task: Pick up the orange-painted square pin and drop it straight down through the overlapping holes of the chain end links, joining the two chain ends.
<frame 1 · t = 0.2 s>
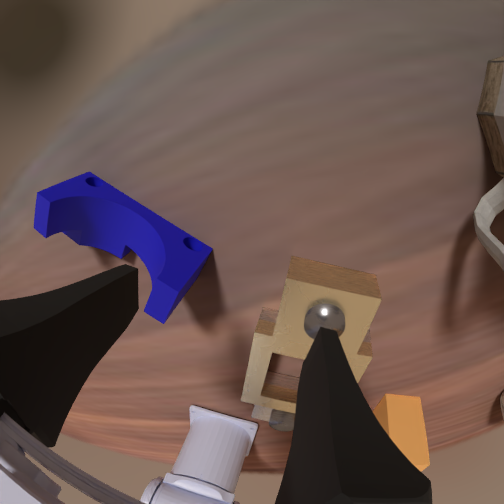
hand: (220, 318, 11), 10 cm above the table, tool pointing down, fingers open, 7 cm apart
chain ends: (304, 357, 24), on the table
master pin: (394, 407, 25), on the table
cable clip: (139, 228, 23), on the table
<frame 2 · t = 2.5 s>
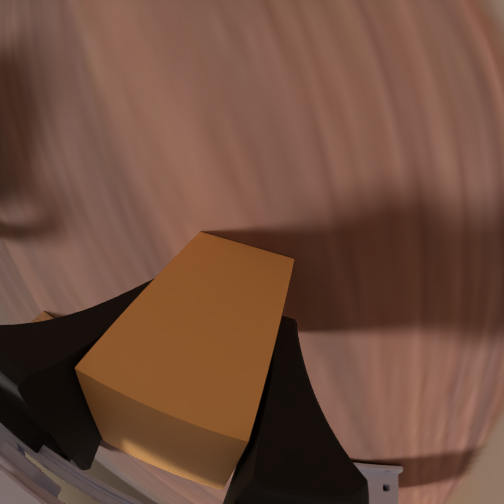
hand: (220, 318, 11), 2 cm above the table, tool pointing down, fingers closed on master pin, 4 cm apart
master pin: (237, 285, 13), on the table, touching gripper
when the fingers open (4 cm above the table, at t = 6.4 s): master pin drops 1 cm, resting in chain ends.
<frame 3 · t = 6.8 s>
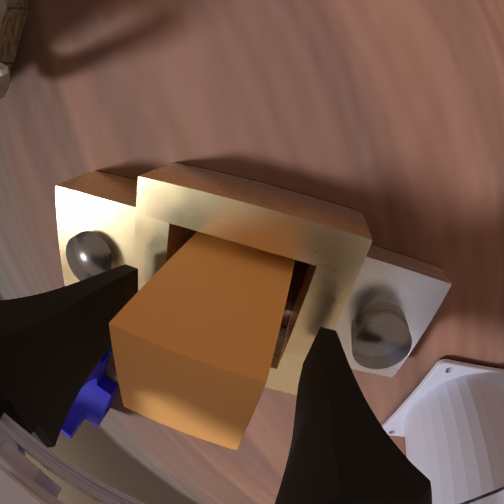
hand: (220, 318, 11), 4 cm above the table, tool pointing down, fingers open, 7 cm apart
chain ends: (245, 269, 14), on the table
mug: (3, 50, 12), on the table
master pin: (247, 265, 14), resting in chain ends
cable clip: (99, 367, 23), on the table
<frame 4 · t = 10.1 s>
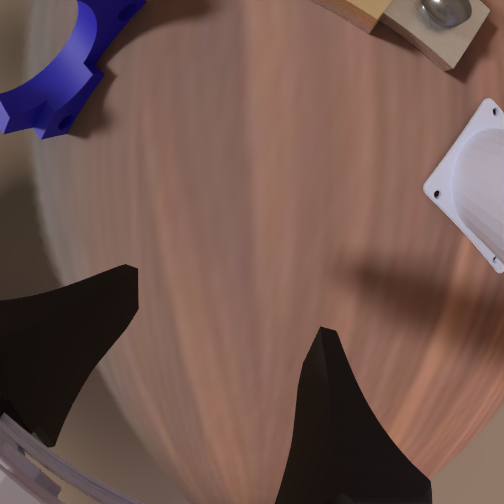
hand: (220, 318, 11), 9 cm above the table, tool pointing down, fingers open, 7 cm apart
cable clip: (93, 59, 17), on the table
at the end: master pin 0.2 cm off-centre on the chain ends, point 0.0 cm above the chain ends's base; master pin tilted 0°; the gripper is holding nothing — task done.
